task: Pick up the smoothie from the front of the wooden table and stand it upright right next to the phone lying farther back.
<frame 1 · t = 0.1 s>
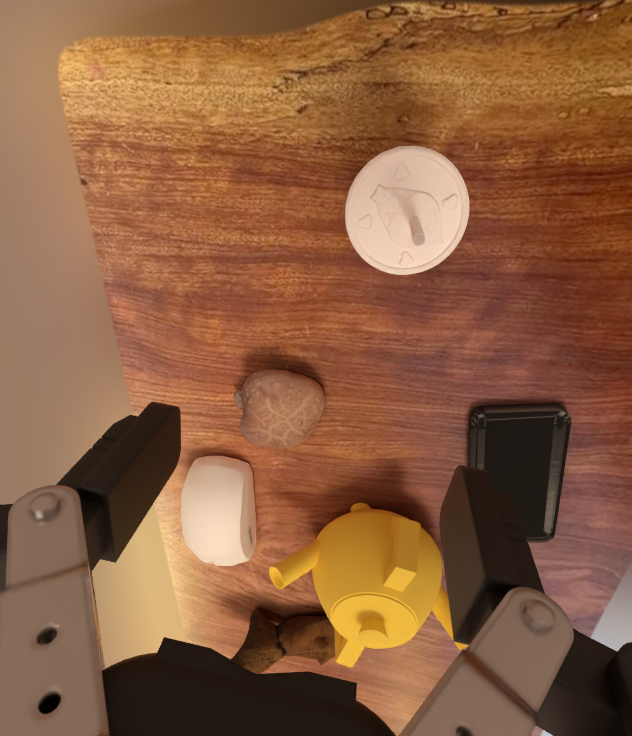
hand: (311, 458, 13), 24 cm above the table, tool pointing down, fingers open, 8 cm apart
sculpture: (297, 615, 56), on the table
phone: (511, 472, 41), on the table
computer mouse: (228, 498, 48), on the table
smoothie: (401, 192, 32), on the table
teapot: (376, 534, 48), on the table
mushroom: (283, 395, 41), on the table
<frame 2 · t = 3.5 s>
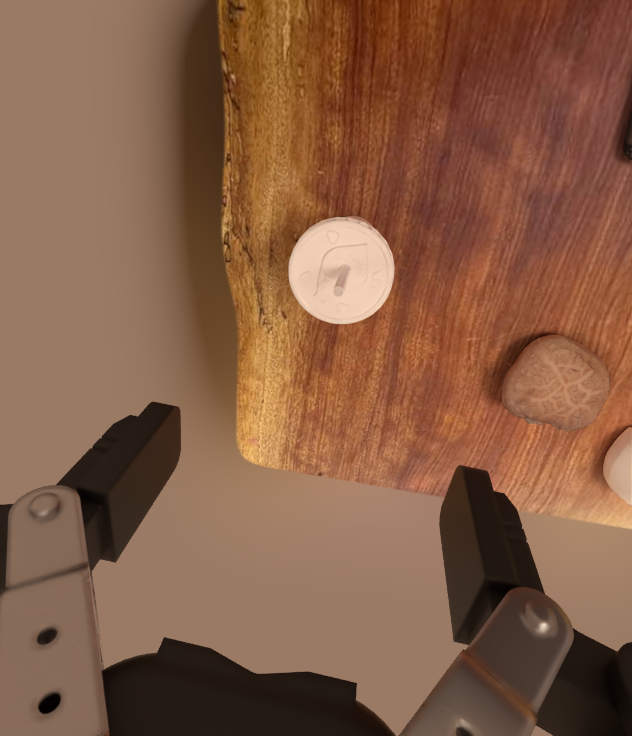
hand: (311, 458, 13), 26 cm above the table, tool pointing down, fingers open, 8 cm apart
smoothie: (352, 239, 35), on the table
mushroom: (545, 373, 38), on the table
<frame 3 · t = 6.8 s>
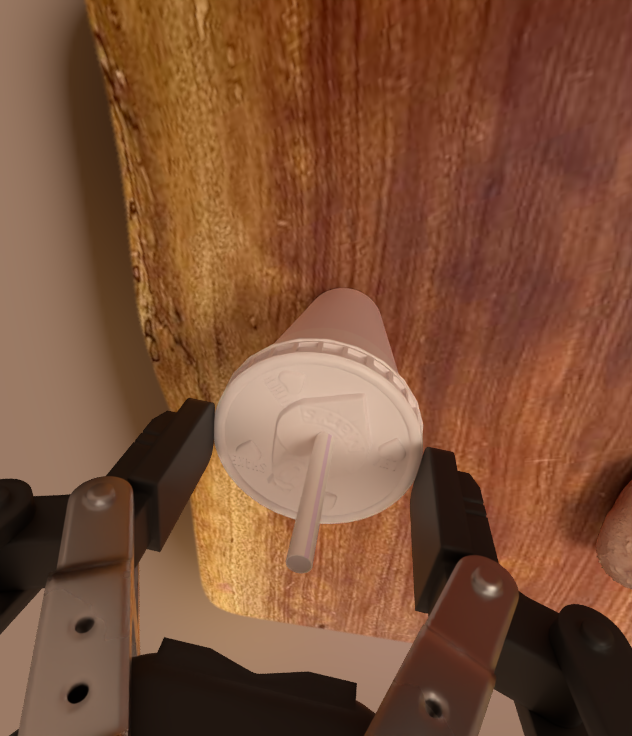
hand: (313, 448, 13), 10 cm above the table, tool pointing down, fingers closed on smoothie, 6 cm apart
smoothie: (343, 323, 22), on the table, touching gripper
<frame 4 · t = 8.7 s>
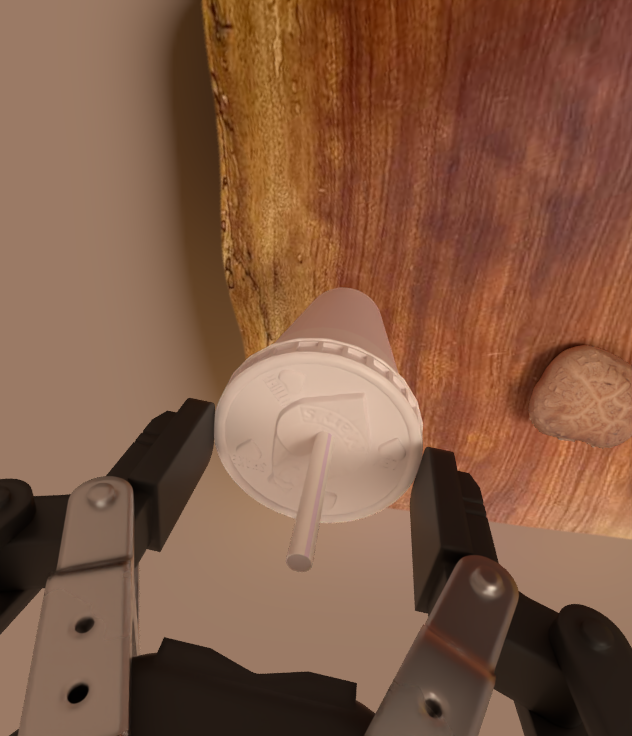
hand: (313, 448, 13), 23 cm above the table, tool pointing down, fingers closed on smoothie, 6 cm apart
smoothie: (343, 322, 22), point 13 cm above the table, touching gripper
mushroom: (574, 386, 35), on the table
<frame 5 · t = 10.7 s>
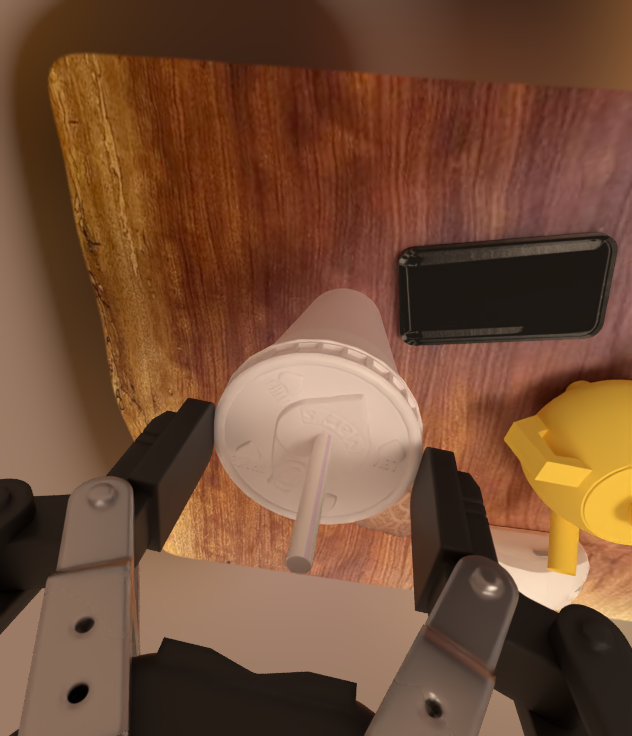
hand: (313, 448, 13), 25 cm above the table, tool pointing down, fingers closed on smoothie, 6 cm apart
phone: (496, 290, 35), on the table
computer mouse: (512, 547, 47), on the table
smoothie: (343, 323, 22), point 15 cm above the table, touching gripper
teapot: (588, 425, 39), on the table
mushroom: (388, 485, 46), on the table
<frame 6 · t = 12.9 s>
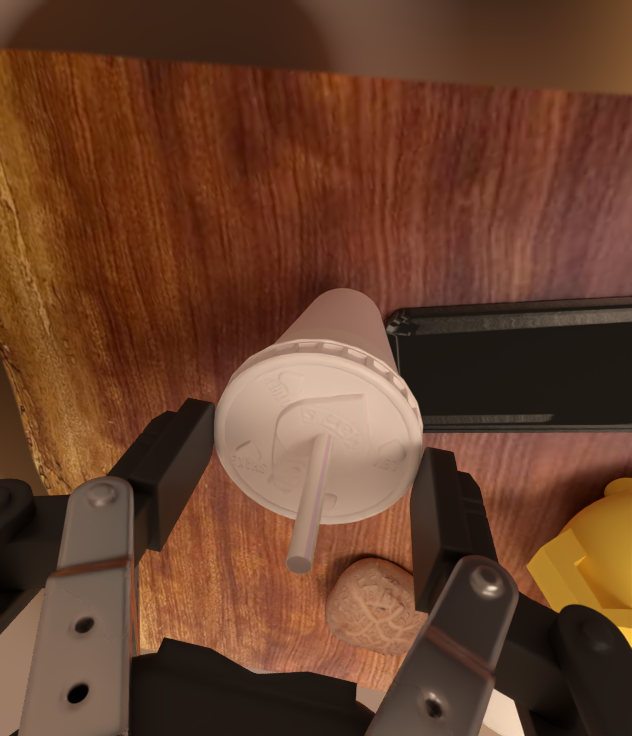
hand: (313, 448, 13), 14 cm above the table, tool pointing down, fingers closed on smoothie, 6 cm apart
phone: (517, 365, 26), on the table
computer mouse: (529, 657, 38), on the table
smoothie: (343, 323, 22), point 4 cm above the table, touching gripper
mushroom: (376, 584, 37), on the table
when the fingers open (10 cm above the table, at t = 14.6 s): smoothie stays where it is, on the table.
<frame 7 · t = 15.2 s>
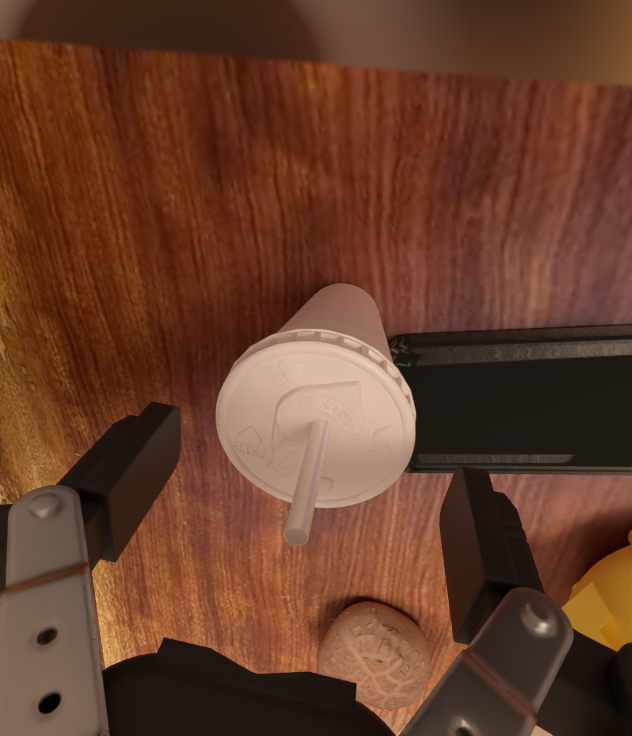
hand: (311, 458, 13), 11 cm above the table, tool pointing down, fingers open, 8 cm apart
phone: (533, 398, 23), on the table
smoothie: (342, 317, 22), on the table
mushroom: (373, 628, 34), on the table
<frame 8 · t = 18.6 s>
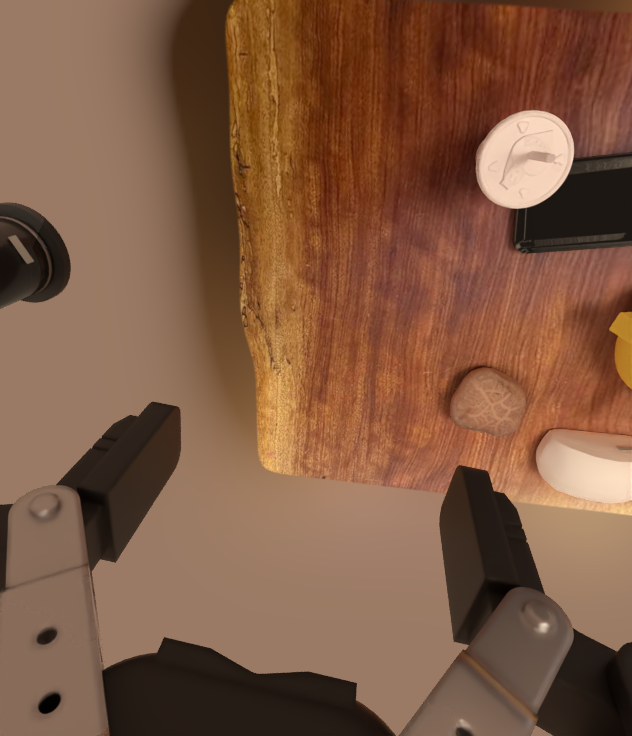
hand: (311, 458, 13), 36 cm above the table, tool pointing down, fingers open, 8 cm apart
phone: (602, 202, 40), on the table
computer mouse: (591, 451, 53), on the table
smoothie: (496, 155, 40), on the table
mushroom: (483, 394, 51), on the table
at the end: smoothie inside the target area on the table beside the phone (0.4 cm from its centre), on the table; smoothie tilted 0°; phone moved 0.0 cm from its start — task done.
